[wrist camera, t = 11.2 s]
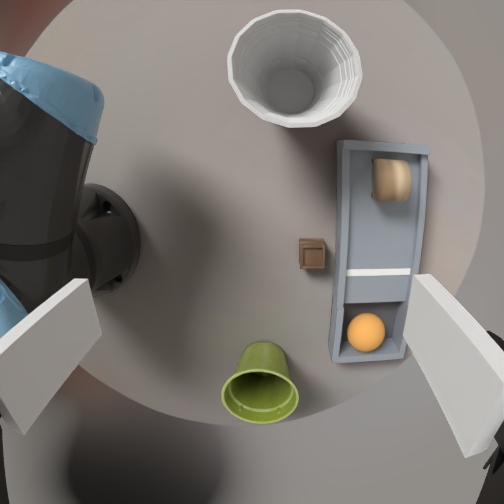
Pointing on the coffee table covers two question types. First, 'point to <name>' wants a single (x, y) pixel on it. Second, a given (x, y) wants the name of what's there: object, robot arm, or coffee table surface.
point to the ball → (366, 332)
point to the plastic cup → (294, 68)
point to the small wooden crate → (312, 253)
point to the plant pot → (261, 386)
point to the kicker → (391, 180)
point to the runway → (375, 247)
